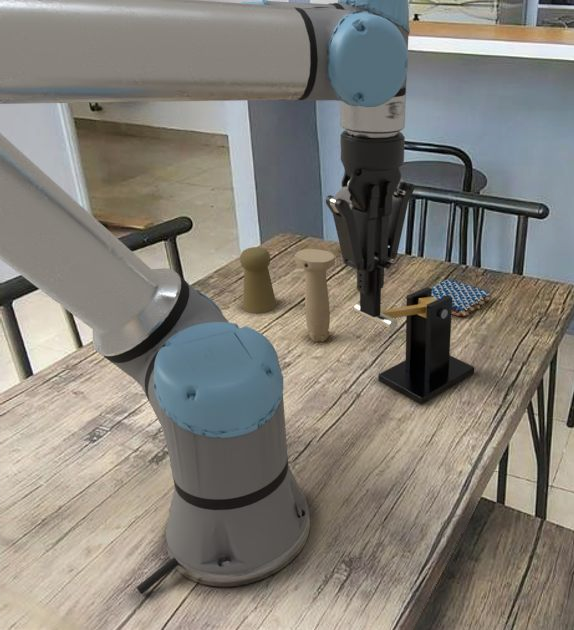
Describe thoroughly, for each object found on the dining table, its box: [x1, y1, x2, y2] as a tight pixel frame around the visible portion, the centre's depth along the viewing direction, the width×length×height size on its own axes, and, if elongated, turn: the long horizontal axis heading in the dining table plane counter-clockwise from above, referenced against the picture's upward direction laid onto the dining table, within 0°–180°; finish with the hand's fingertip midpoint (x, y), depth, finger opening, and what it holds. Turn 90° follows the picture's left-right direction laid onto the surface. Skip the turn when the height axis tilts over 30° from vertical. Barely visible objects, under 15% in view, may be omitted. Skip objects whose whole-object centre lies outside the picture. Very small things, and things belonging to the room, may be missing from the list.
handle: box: [294, 248, 336, 343], centre depth 111 cm, size 5×6×15 cm
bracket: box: [377, 286, 475, 406], centre depth 101 cm, size 12×9×14 cm
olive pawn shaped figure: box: [239, 246, 277, 314], centre depth 122 cm, size 6×6×11 cm
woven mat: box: [431, 278, 491, 317], centre depth 127 cm, size 10×11×2 cm
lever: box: [353, 297, 438, 331], centre depth 95 cm, size 13×7×2 cm, turn 137°
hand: (370, 312), depth 90 cm, fingers closed
